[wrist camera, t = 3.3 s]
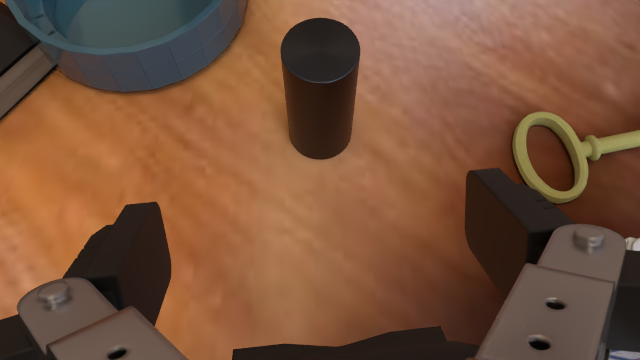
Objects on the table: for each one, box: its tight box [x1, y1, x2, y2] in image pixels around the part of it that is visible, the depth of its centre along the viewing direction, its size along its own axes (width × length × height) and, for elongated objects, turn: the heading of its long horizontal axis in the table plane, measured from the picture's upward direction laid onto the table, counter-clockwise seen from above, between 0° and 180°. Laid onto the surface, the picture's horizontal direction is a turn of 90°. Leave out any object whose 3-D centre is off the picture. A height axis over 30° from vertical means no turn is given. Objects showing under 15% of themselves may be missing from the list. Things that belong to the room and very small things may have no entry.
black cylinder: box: [281, 18, 360, 159], centre depth 37 cm, size 5×5×10 cm
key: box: [512, 112, 640, 204], centre depth 41 cm, size 7×12×2 cm, turn 119°
